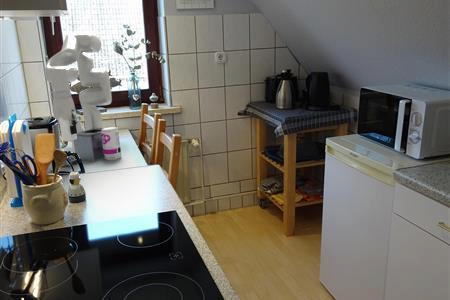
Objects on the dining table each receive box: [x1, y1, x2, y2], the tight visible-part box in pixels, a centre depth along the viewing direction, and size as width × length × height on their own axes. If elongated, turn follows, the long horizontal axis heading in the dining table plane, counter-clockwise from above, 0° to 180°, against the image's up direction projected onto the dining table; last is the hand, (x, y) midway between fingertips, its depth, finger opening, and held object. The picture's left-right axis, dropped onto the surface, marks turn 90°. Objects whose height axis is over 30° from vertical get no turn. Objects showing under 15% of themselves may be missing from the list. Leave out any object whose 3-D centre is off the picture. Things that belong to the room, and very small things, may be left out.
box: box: [74, 127, 105, 162], centre depth 201 cm, size 12×16×13 cm
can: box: [59, 118, 77, 142], centre depth 185 cm, size 6×6×12 cm
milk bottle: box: [71, 115, 86, 153], centre depth 206 cm, size 8×8×20 cm
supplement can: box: [101, 126, 123, 161], centre depth 195 cm, size 8×8×15 cm
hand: (68, 133), depth 186 cm, fingers closed on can, 6 cm apart
